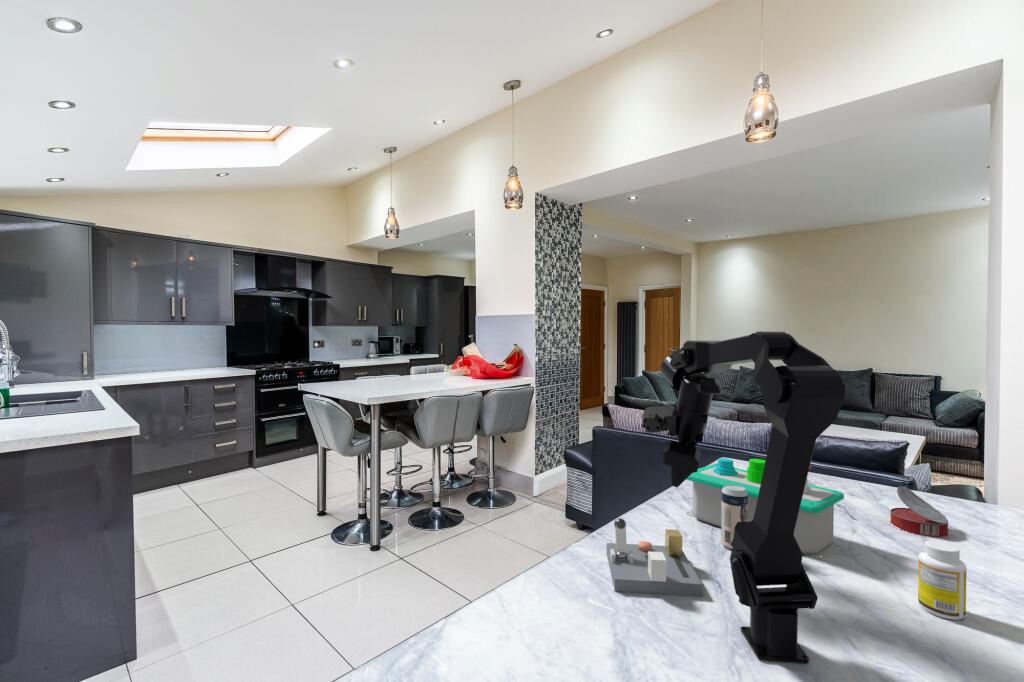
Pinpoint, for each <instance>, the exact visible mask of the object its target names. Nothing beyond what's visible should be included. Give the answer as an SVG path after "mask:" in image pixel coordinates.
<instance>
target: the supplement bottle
mask: <svg viewBox="0 0 1024 682" xmlns="http://www.w3.org/2000/svg"><path fill="white" fill-rule="evenodd" d="M960 558H961V557H960V549H959V548H958V547H957V546H956V545H953V544H950V543H947V542H944V541H938V540H926V541H925V545H924V551H923V552H920V553H919V555H918V563H917V564H918V574H917V575H918V577H917V578H918V583H917V584H918V585H917V586H918V587H917V589H918V593H917V594H918V597H917V600H918V604H919V606H920V607H921V609H923V610H925V611H926V612H927V613H929V614H932V615H934V616H936V617H940V618H943V619H946V620H947V619H948V620H954V621H956V620H957V621H958V620H962V619H964V618H965V617H966V614H967V565H966V563H964V561H963V560H961V559H960Z"/></svg>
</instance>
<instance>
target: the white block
mask: <svg viewBox="0 0 1024 682" xmlns="http://www.w3.org/2000/svg"><path fill="white" fill-rule="evenodd" d="M648 574H649V576H650V579H651V581H662V582H666V558H665V556H664V554H663V552H650V551H648Z"/></svg>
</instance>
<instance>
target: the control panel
mask: <svg viewBox="0 0 1024 682" xmlns="http://www.w3.org/2000/svg"><path fill="white" fill-rule="evenodd" d="M765 461H766V459H760V458H750V459H749V460H748V466H747V468H746V469H741V468H737V467H734V460H733V459H731V458H725V457H721V458H718V459H717V463H713V464H709V465H706V466H704V467H698V470H697V472H695V473H692V474H691V475H690V476H689V477H688V478H687V479H686V480H687V481H690V482H692V508H691V509H692V510H689V511H687V512H685V513H686V514H687V516H689V515H690V517H692V516H693V518H695V519H697V520H699V521H702V522H704V523H707V524H710V525H713V526H717V527H718V528H719V527H720V528H721V508H722V489H723V487H724V486H725V485H738V486H741V487H744V488H745V489H746V492H747V493H748V520H747V522H749V521H752V520H753V518H754V514H755V509H756V504H757V499H758V495H759V490H760V485H761V480H762V476H763V471H764V466H765ZM810 469H812V466H810V467H809V470H810ZM686 480H685V481H686ZM808 480H809V479H808V478H807V480H806V484H805V488H804V492H803V497H802V501H801V505H800V509H799V513H798V518H797V522H796V526H795V530H794V536H795V538H796V540H797V542H798V544H799V546H800V548H801V550H802V553H803V554H804V553H805V554H804V555H807V554H808V555H807V556H810V555H811V556H810V557H813V556H814V557H813V558H816V557H817V558H816V559H819V558H820V560H822V559H825V560H824V561H827V560H829V559H830V558H831V557H833V556H835V554H836V553H838V552H840V551H841V550H842V549H843V548H844V546H843V545H841V544H838V543H836V542H835V543H834V526H835V525H834V524H835V523H834V520H835V519H834V518H835V515H834V513H835V508H834V507H835V506H834V505H835V504H837V503H839V502H841V501H842V500H844V499H845V495H844V493H843V491H839V490H835V489H830V488H826V487H821V486H817V485H813V484H808ZM689 513H691V514H689ZM686 514H685V515H686ZM832 555H833V556H832ZM820 556H823V557H820ZM829 557H830V558H829ZM828 558H829V559H828Z"/></svg>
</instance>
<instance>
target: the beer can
mask: <svg viewBox="0 0 1024 682" xmlns="http://www.w3.org/2000/svg"><path fill="white" fill-rule="evenodd" d="M747 520H748V493H747V492H746V489H745V488H744V487H741V486H738V485H725V486H724V487H723V489H722V508H721V527H720V531H721V532H720V543H721V545H723V546H724V547H725V548H726V549H728V550H731V551H732V548H733V547H732V546H731V542H732V541H733V538H734V528H735V526H736V524H737V522H747Z"/></svg>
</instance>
